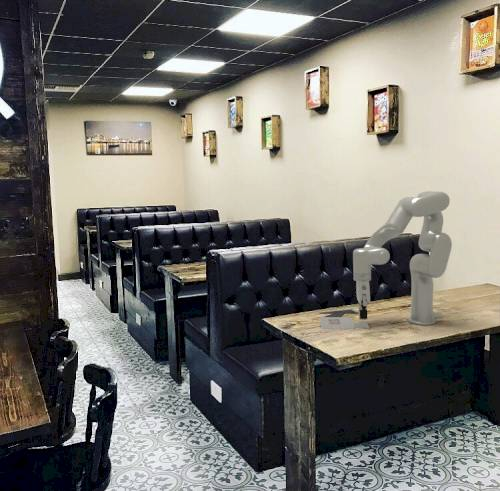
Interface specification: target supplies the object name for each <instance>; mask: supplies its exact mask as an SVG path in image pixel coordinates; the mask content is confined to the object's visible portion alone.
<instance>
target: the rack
mask: <svg viewBox="0 0 500 491" xmlns="http://www.w3.org/2000/svg"><path fill="white" fill-rule="evenodd" d="M319 324H320V329H321V330H354V327H355V329H369V328H370V326H369V324H368V322H353V318H352V317H349V316H348V317H347V316H346V317H344V316H341V317H324V316H320V317H319Z"/></svg>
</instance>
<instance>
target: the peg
mask: <svg viewBox="0 0 500 491" xmlns="http://www.w3.org/2000/svg"><path fill="white" fill-rule="evenodd" d="M361 303H363V302H361ZM362 305H363V304H362ZM358 312H359V314H358V319H359V320H363V321H364V320H365V321H366V319H360V303H359V302H358Z"/></svg>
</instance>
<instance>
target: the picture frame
mask: <svg viewBox="0 0 500 491" xmlns="http://www.w3.org/2000/svg"><path fill="white" fill-rule="evenodd" d="M314 315H324V316H323V317H343V316H344V315H359V310H356V309H354V308H345V309H336V310H335V309H334V310H326V311H325V310H324V311H316V312H314Z"/></svg>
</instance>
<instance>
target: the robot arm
mask: <svg viewBox="0 0 500 491" xmlns="http://www.w3.org/2000/svg"><path fill="white" fill-rule="evenodd" d="M450 200H451V199H450V196H449V195H448V194H447V193H445V192H444V191H428V190H427V191H422V192H420V193H418V195H417V196H415V197H413V196H407V197H403V198H401V199H400V200H399V201H398V203H397V205H396V206H395V208H394V209H393V211H392V212H391V214H390V216H389V217H388V219H387V221H386V222H385V224H383V225H382V226H380V227H379V228H378V229H377V230H376V231H374V233H373V234H371V236H370V237H369V239H368V240H367V241H366V243H365V245H364V246H363V247H360V248H355V249H354V250H353V251H352V264H353V265H352V266H353V281H355V282H356V285H355V287H356V288H355V289H356V290H355V291H356V299H357V301H358V304H359V303H360V319H359V320H361V319H365V320H368V304H371V289H370V281H372V265H377V266H378V265H379V266H380V265H386V264H387V263H388V262H389V260H390V259H391V258H390V257H391V256H390V252H389V251H388V250H387V249H386V248H384V247H383V245H385V243H387V242H388V241H389V240H392V239H394V238H396V237H398V236H400V235H403V233H404V232H405V230H406V228H407V226H408V225H409V223H410V222H411V220H412V219H413V217H415V218H421V217H423V223H422V226H421V231H420V234H419V239H418V248H420V250H422V251H425V252H428V253H429V254H428V253H427V254H426V253H417V254H414V255H413V256H412V257H411V259H410V261H409V270H410V277H411V278H410V279H411V286H410V288H411V293H410V294H411V296H410V297H411V298H410V316H408V317H407V318H406V320H407V322H408V323H410V324H413V325H418V326H421V325H422V326H430V325H435V324H436V322H437V319H444V317H445V316H444V314H443V313H442V314H441V313H435V312H433V311H434V310H433V308H434V280H433V278H435V279H437V278H440V277H442V276H443V275H444V274H445V272H446V270H447V266H448V263H449V258H450V255H451V251H452V247H453V246H452V245H453V244H452V243H453V242H452V239H451V237H450V235H449V234H447V233H446V232H442V230H443V225H444V217H443V216H444V215H443V213H442V212H443V211H445V210H447V208H448V207H449V206H450V203H451V202H450ZM361 302H363V303H361ZM362 304H363V305H362Z"/></svg>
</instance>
